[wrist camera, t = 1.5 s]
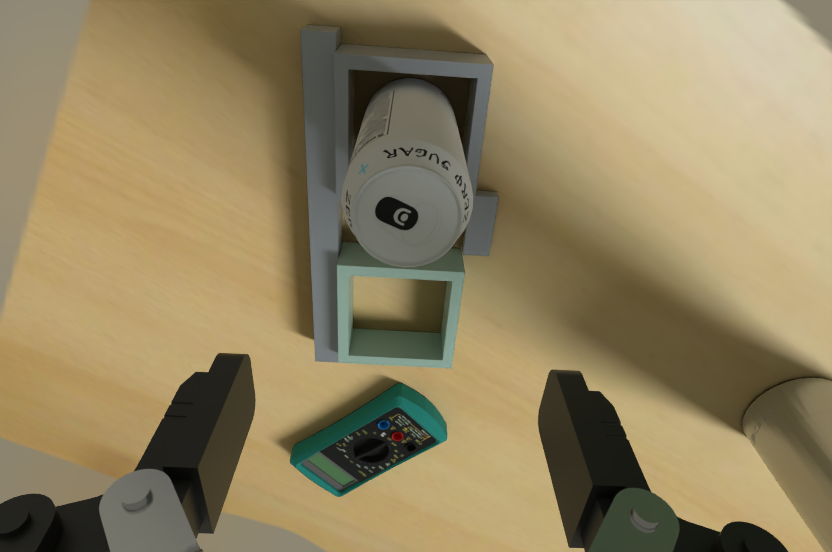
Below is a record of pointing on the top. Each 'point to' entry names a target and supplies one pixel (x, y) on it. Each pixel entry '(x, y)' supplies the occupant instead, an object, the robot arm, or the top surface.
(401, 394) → the digital multimeter
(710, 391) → the top surface
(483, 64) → the rail
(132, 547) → the robot arm
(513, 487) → the top surface
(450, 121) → the energy drink can
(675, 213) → the top surface
